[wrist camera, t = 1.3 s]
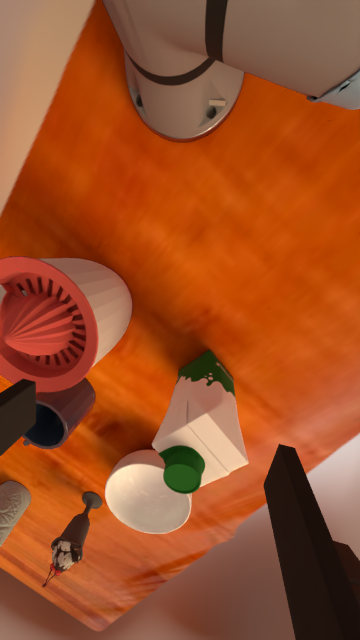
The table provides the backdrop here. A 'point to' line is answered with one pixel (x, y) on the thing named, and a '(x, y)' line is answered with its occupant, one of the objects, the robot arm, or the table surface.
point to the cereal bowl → (145, 494)
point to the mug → (59, 415)
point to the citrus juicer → (58, 318)
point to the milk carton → (200, 427)
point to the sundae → (73, 538)
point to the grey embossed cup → (11, 506)
